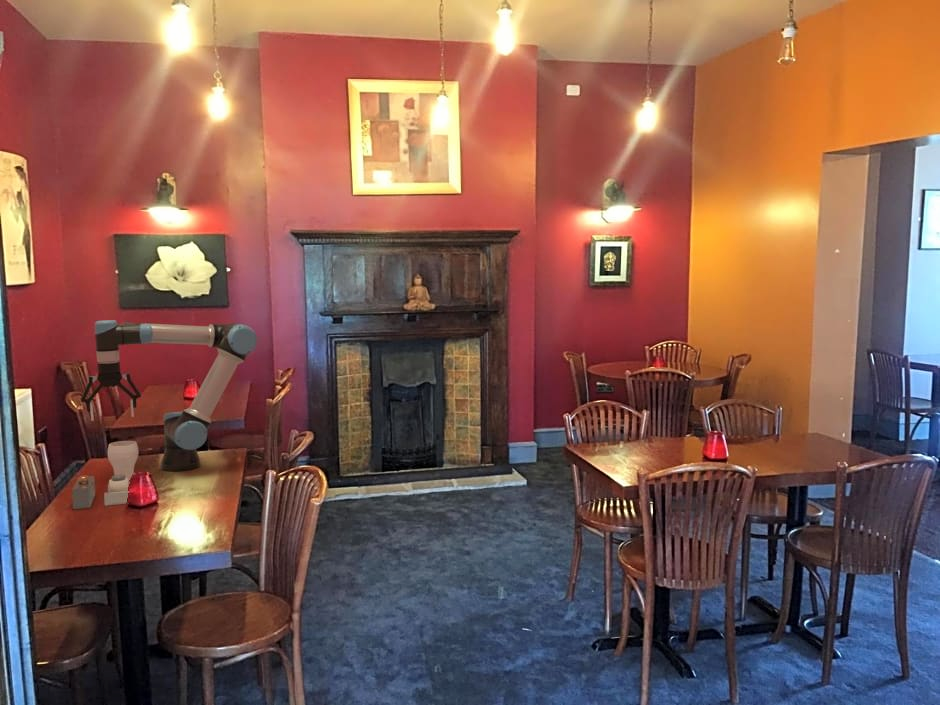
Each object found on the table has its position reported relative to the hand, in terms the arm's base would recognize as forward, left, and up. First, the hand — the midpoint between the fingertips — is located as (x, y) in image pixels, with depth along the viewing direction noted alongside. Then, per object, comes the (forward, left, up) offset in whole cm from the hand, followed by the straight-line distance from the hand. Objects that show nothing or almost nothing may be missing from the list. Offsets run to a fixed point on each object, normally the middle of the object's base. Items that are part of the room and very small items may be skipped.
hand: (112, 418), depth 277 cm
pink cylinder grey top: (-3, +21, -25) cm, 33 cm away
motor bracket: (+2, +21, -25) cm, 33 cm away
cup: (-3, -2, -26) cm, 26 cm away
